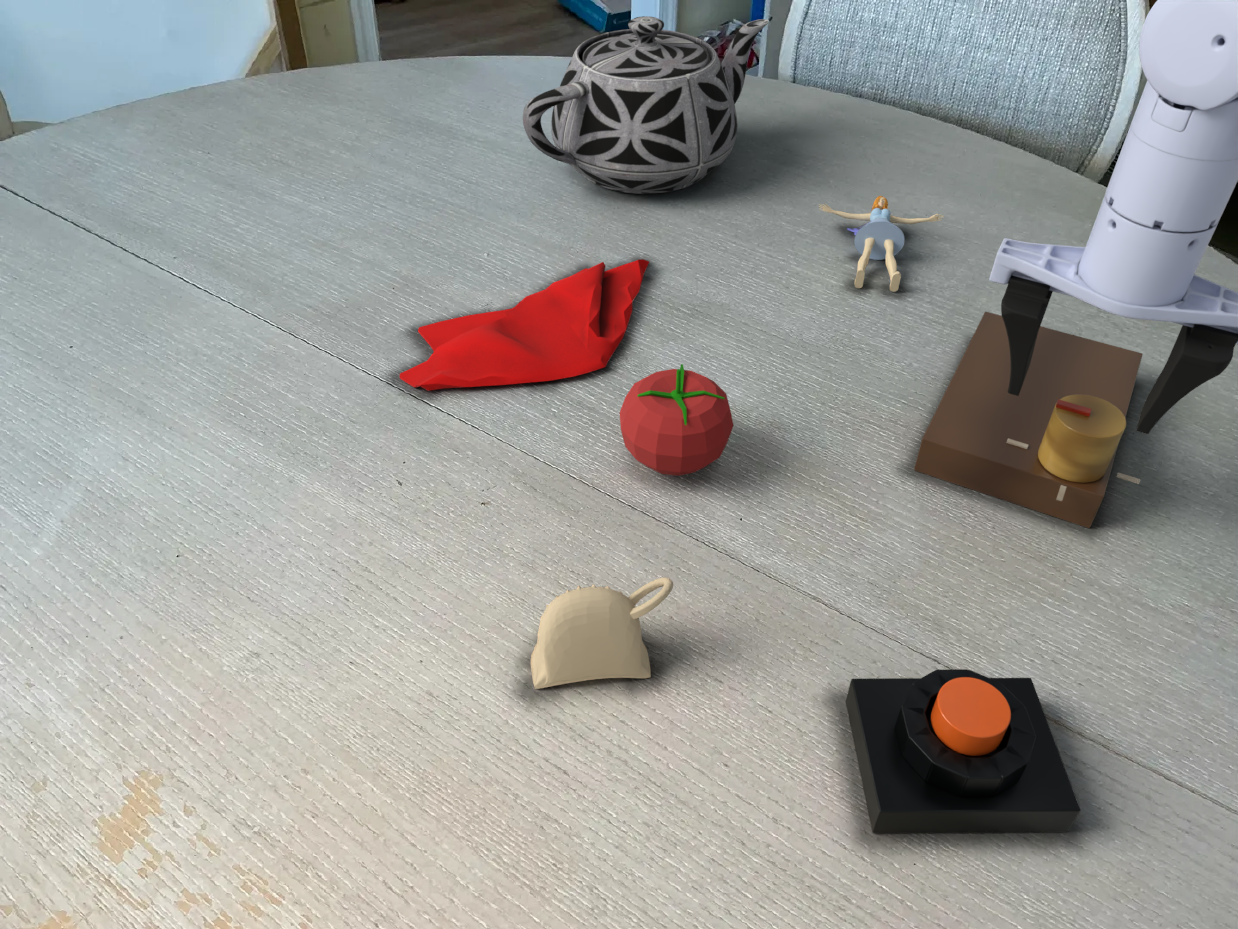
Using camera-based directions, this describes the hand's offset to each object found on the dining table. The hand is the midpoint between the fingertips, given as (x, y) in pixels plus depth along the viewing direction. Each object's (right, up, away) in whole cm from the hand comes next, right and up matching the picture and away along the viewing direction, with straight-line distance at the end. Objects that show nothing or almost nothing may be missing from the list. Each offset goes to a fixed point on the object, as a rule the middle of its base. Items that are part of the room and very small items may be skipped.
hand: (1078, 404), depth 63 cm
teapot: (-25, +28, +45) cm, 59 cm away
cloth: (-34, +7, +22) cm, 41 cm away
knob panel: (+2, -2, +12) cm, 12 cm away
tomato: (-25, -3, +10) cm, 27 cm away
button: (-11, -17, -11) cm, 23 cm away
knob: (+2, -4, +5) cm, 7 cm away
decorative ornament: (-30, -15, -3) cm, 34 cm away
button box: (-11, -20, -8) cm, 24 cm away
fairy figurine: (-5, +15, +31) cm, 35 cm away
